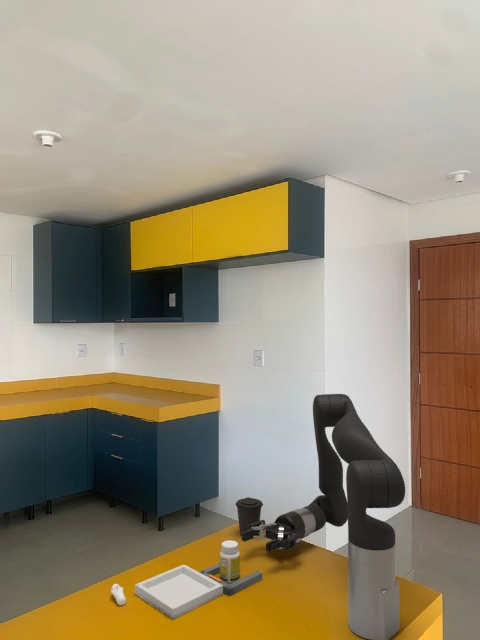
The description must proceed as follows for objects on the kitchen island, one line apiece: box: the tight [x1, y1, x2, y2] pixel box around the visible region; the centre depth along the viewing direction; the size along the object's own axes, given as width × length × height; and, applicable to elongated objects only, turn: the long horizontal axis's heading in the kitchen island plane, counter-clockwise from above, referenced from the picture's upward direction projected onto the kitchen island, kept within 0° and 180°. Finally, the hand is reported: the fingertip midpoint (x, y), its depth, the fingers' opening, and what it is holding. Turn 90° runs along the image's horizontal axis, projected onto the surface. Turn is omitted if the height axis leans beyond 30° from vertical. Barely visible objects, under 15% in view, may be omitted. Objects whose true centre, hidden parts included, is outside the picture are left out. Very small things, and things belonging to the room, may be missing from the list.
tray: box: [134, 564, 224, 620], centre depth 114 cm, size 14×14×2 cm
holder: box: [198, 562, 263, 597], centre depth 121 cm, size 11×11×2 cm
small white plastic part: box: [110, 583, 127, 606], centre depth 111 cm, size 4×6×3 cm, turn 6°
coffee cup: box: [235, 497, 264, 538], centre depth 147 cm, size 8×8×10 cm
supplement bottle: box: [219, 539, 241, 584], centre depth 121 cm, size 5×5×8 cm
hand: (254, 542), depth 127 cm, fingers open, 8 cm apart
